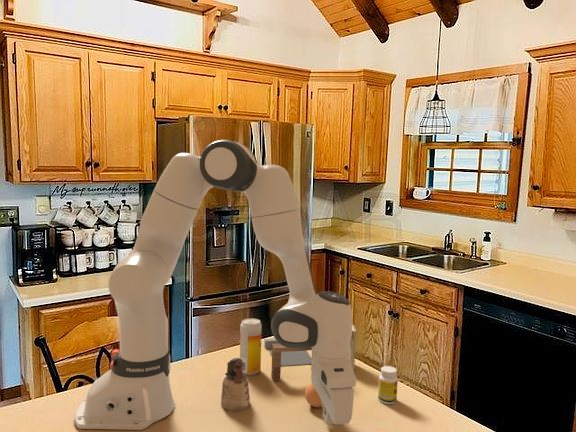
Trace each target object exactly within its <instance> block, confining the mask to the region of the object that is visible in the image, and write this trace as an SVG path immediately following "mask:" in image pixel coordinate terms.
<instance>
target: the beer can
mask: <svg viewBox="0 0 576 432" xmlns="http://www.w3.org/2000/svg"><path fill="white" fill-rule="evenodd" d="M239 328H240V330H239V332H240V333H239V334H240V336H239V358H240V359H241V360H242V362H243V365H242V372H243V374H244V375H245V376H254V375H257V374H258V373H259V372H260V371H261V367H262V366H261V364H262V328H263V327H262V323H261V320H260V319H257V318H251V317H250V318H248V317H247V318H244V319H242V320H241V323H240V327H239Z"/></svg>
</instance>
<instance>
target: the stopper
mask: <svg viewBox="0 0 576 432" xmlns="http://www.w3.org/2000/svg"><path fill="white" fill-rule="evenodd" d="M263 340H264V341H263V343H264V344H263V346H264V349H265V350H266V349H272V344H280V343H279V342H278V341H277V340H276V339H275V337H274V338H264V339H263Z"/></svg>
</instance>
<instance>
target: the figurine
mask: <svg viewBox="0 0 576 432" xmlns="http://www.w3.org/2000/svg"><path fill="white" fill-rule="evenodd" d="M226 365H227V366H226V367H227V368H226V372H225V374H224V375H225V377H224V379H223V380H222V387H221V397H220V398H221V399H220V404H221V407H222V408H224V409H225V410H227V411H232V412H239V411H243V410H245V409H247V408H248V407H249V406H250V403H251V402H250V401H251V400H250V398H251V397H250V387H249V380H248V377H247V375H245V374H243V372H242V365H243V362H242V360H241V359H240V357H233V358H232V359H230V360H229V361H228V362H227V364H226Z"/></svg>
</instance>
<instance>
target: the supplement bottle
mask: <svg viewBox="0 0 576 432" xmlns="http://www.w3.org/2000/svg"><path fill="white" fill-rule="evenodd" d="M397 375H398V369H397V368H396V367H393V366H389V365H384V366H381V368H380V375H379V377H378V393H377V398H378V401H379V402H380V403H382V404H385V405H393V404H396V403H397V401H398V400H397V398H398V397H397V396H398V382H399V381H398V379H399V378H398V376H397Z"/></svg>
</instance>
